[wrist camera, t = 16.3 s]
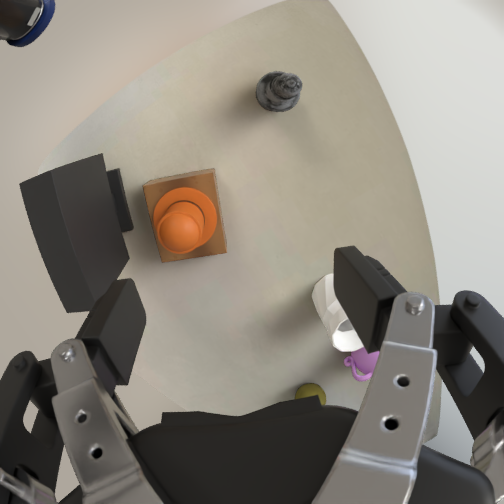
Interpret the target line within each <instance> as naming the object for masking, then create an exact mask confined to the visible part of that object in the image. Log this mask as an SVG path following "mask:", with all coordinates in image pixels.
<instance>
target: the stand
mask: <svg viewBox="0 0 504 504" xmlns="http://www.w3.org/2000/svg"><path fill="white" fill-rule="evenodd" d="M181 187H188V188H193V189H196V190H199V191H201V192H202V193H204V194H205V195H206V196H207V197H208V198H209V199H210V200H211V201H212V203H213V205H214V207H215V209H216V213H217V224H216V228H215V231H214V233H213V235H212V237H211V238H210V239H209V240H208V241H207V242H206V243H204V244H203V245H201V246H199V247H197V248H195V249H194V250H192V251H191V252H188V253H185V254H176V253H173V252H170V251H168V250H167V249H165V248H164V247H163V246H162V244H161V243H160V241H159V239H158V236H157V231H156V229H155V226H154V220H153V215H154V210H155V207H156V205H157V203H158V201H159V200H160V199H161V197H162V196H163V195H165V194H166V193H167V192H169V191H171V190H173V189H176V188H181ZM143 190H144V194H145V199H146V203H147V207H148V211H149V215H150V220H151V224H152V227H153V231H154V235H155V239H156V243H157V246H158V250H159V253H160V257H161V261H162V263H163V262H170V261H176V260H183V259H190V258H196V257H203V256H210V255H216V254H223V253H227V243H226V236H225V230H224V225H223V219H222V213H221V207H220V201H219V194H218V188H217V182H216V176H215V169H214V168H213V169H207V170H201V171H195V172H190V173H184V174H179V175H174V176H169V177H164V178H159V179H154V180H150V181H149V182H147V183H146V184H145V185H143Z"/></svg>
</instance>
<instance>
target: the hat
mask: <svg viewBox="0 0 504 504" xmlns="http://www.w3.org/2000/svg"><path fill="white" fill-rule="evenodd" d="M153 220H154V226H155V229H156V231H157V236H158V239H159V241H160V243H161V244H162V246H163V247H164V248H165V249H167V250H168V251H170V252H173V253H176V254H185V253H188V252H191V251H192V250H194V249H195V248H197V247H199V246H201V245H203V244H204V243H206V242H207V241H208V240H209V239H210V238H211V237H212V235H213V233H214V231H215V228H216V224H217V213H216V209H215V207H214V205H213V203H212V201H211V200H210V199H209V198H208V197H207V196H206V195H205V194H204V193H202V192H201V191H199V190H196V189H193V188H188V187H181V188H176V189H173V190H171V191H169V192H167V193H166V194H165V195H163V196H162V197H161V199H160V200H159V201H158V203H157V205H156V207H155V210H154V215H153Z"/></svg>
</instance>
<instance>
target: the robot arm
mask: <svg viewBox="0 0 504 504" xmlns="http://www.w3.org/2000/svg"><path fill="white" fill-rule="evenodd" d="M43 11H44V1H43V0H0V40H6V41H11V40H12V39H13V40H19V39H21V38H23V37H25V36H26V35H27V34H28V33H30V32H31V30H32V29H33V28H34V27H35V26H36V24H37V23H38V21H39V20H40V18H41V16H42V14H43ZM333 287H334V292H335V296H336V298H337V300H338V301H339V303H340V305H341V307H342V308H343V310H344V312H345V314H346V315H347V317H348V319H349V321H350V322H351V324H352V326H353V328H354V329H355V331H356V333H357V335H358V337H359V338H360V340H361V342H362V344H363V346H364V348H365V349H366V351H367V353H368V354H370V353H373V352H377V351H379V352H380V353H379V356H378V359H377V362H376V365H375V368H374V371H373V374H372V377H371V380H370V383H369V386H368V388H367V391H366V394H365V396H364V399H363V402H362V404H361V407H360V409H359V412H358V411H356V410H353V409H350V408H346V407H341V406H335V405H321V402H320V399H319V396H318V395H314V396H309V397H305V398H300V399H295V400H289V401H284V402H279V403H276V404H274V405H271V406H268V407H266V408H263V409H260V410H257V411H255V412H252V413H249V414H246V415H243V416H228V415H220V414H213V413H206V412H200V411H194V412H163V413H162V420H161V423H159V424H156V425H153V426H150V427H148V428H146V429H143V430H142V431H140V432H139V430H138V429H137V427H136V426H135V424H134V423H133V421H132V420H131V418H130V416H129V414H128V413H127V411H126V409H125V407H124V406H123V404H122V402H121V400H120V398H119V397H118V395H117V393H116V392H115V391H114V390H115V387H116V385H128V383H129V379H130V375H131V372H132V368H133V365H134V361H135V358H136V354H137V351H138V348H139V345H140V341H141V338H142V335H143V332H144V329H145V325H146V313H145V310H144V307H143V304H142V302H141V299H140V297H139V294H138V291H137V289H136V286H135V283H134V281H133V280H132V279H131V278H128V279H121V280H114V281H113V282H112V284H111V285H110V287H109V288H108V290H107V292H106V293H105V294H103V295H102V296H101V297H100V298H99V299H98V300H97V301H96V302H95V304H94V306H93V307H92V309H91V311H90V312H89V314H88V316H87V318H86V319H85V321H84V323H83V325H82V327H81V328H80V331H79V332H78V334H77V336H76V337H75V339H68V340H66V341H64V342H62V343H60V344H59V345H58V346H57V347H56V348H55V349H54V350H53V352H52V354H51V358H50V359H46V360H42V361H38V360H37V359H36V357H35V356H34V354H33V353H32V352H30V351H24V352H21V353H19V354H17V355H16V356H15V357H14V358H13V359H12V360H11V361H10V363H9V365H8V367H7V369H6V371H5V372H4V374H3V376H2V378H1V380H0V504H497V503H498V502H499V501H501V500H502V499H503V498H504V318H503V317H502V316H501V315H500V314H499V313H498V312H497V310H496V309H495V308H493V306H492V305H491V304H490V303H489V302H488V301H487V300H486V299H485V298H484V297H483V296H481V295H480V294H478V293H476V292H472V291H460V292H458V293H457V294H456V295H455V297H454V300H453V303H452V305H434V303H433V302H432V300H431V299H430V298H428V297H427V296H425V295H423V294H421V293H417V292H407V291H406V290H405V289H404V288H403V287H402V285H401V284H400V283H399V282H398V281H397V280H396V279H395V278H394V277H393V276H392V275H390V273H389V272H388V271H387V270H386V269H385V267H384V266H383V265H382V264H381V263H380V262H379V261H377V260H375V259H373V258H371V257H369V256H364V255H363V254H362V253H361V252H360V251H359V250H358V249H357V248H356V247H355V246H348V247H341V248H336V249H335V251H334V276H333ZM473 346H474V347H475V349H476V350H477V351H478V353H479V354H480V355H481V357H482V358H483V360H484V363H485V371H484V373H483V372H482V370H481V369H480V367H479V366H478V364H477V363H476V361H475V360H474V359H473V357H472V356H471V354H470V351H471V349H472V347H473ZM436 370H437V371H438V373H439V375H440V376H441V378H442V380H443V382H444V383H445V385H446V387H447V389H448V391H449V392H450V394H451V396H452V397H453V400H454V401H455V403H456V405H457V407H458V409H459V411H460V413H461V415H462V417H463V419H464V421H465V423H466V425H467V427H468V428H469V431H470V433H471V435H472V437H473V439H474V444H473V447H472V456H471V459H470V463H471V466H470V465H468V464H465V463H463V462H460V461H458V460H456V459H453V458H451V457H449V456H446V455H444V454H442V453H440V452H437V451H435V450H433V449H431V448H429V447H426V446H425V445H422V442H423V438H424V434H425V430H426V425H427V421H428V416H429V411H430V405H431V400H432V393H433V387H434V379H435V371H436ZM29 400H31V402H32V403H33V404H34V405H35V406H36V407H37V408H38V409H39V410H38V413H37V416H36V419H35V422H34V425H33V428H32V431H31V433H29V432H28V431H27V430H26V428H25V426H24V424H23V416H24V413H25V411H26V408H27V405H28V403H29ZM64 445H65V447H66V451H67V453H68V456H69V458H70V461H71V464H72V467H73V469H74V472H75V473H76V476H77V479H78V481H79V483H80V485H78V486H77V487H76V488H75V489H74V490H73V491H72V492H71V493H69V494H68V495H67V496H66V497H65V498H63V499H62V500H61V501H60V502H59V503H58V502H56V498H55V488H56V482H57V476H58V471H59V465H60V461H61V456H62V451H63V447H64Z"/></svg>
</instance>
